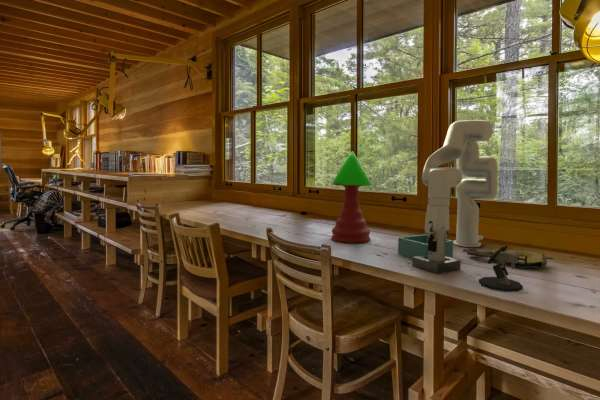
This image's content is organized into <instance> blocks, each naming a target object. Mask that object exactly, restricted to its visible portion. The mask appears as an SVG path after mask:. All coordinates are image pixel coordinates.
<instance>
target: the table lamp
mask: <svg viewBox="0 0 600 400" xmlns="http://www.w3.org/2000/svg"><path fill="white" fill-rule="evenodd" d="M331 184H332V185H333V186H342V187H343V188H344V192H343V195H344V200H343V202H342V203H343V204H342V209H341V210H340V212H339V217H338V218H337V219H336V220H335V225H334V227H333V228H331V233H332V236H331V237H330V238H331V240H332V241H334V242H339V243H348V244H359V243H366V242H370V241H371V238H370V235H371V234H370V233H371V230H370V229H369V228H368V226H367V221H366V219H365V217H363V212H362V209H361V208H360V201H359V196H360V192H359V189H360V187H361V186H362V187H363V186H366V187H367V186H371V185H372V182H371V179H369V176H368V175H367V173H366V170H365V169H364V167H363V165H362V163H361V162H360V160H359V159H358V157H357V156H356V154H355V152H354V151H353V150H352V151H351V152H350V153H349V155H348V156H347V158H346V159H345V161H344V162H343V164H342V165H341V167H340V169H339V170H338V171H337V175H336V176H335V178H334V180H333V182H332V183H331Z"/></svg>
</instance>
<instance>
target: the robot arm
mask: <svg viewBox="0 0 600 400" xmlns="http://www.w3.org/2000/svg"><path fill="white" fill-rule="evenodd" d="M492 135H493V126H492V123H491V121H489V120H485V119H484V120H483V119H471V120H470V119H467V120H456V121H454V122H453V123H451V124H450V125H449V127H448V129H447V133H446V136H445V139H444V142H443V146H442V147H440V148H438V149H437V150H436V151H435V152H433V153H432V154H431V155H429V156H428V158H427V160H426V161H425V162H424V163H425V164H424V166H423V171H422V174H421V181H422V184H423V185H425V186H426V187H428V189H427V191H428V192H427V195H428V196H427V207H426V211H425V217H424V218H425V219H424V220H425V221H424V234H425V235H427V240H428V251H432V252H436V251H437V241H436V237H437V234H438V233H440V230H441V228H442V227H443V226H444V227H445V228H446V239H448V233H449V230H450V228H451V227H450V200H451V199H450V198H451V188H456V189H455V190H456V198H457V199H456V200H457V206H456V209H457V212H456V234H455V239H454V240H452V241H453V246H454V245H455V246H457V247H463V248H479V247H481V246H482V243H481V242H480V240H483V239H484V236H483V235H479V219H480V207H479V205H478V204H477V202H476V201H475V200H480V201H481V200H484V201H492V200H494V199H496V197H497V195H498V162H497V160H496V159H495V157H493V156H488V155H486V156H485V155H484V156H483V155H482V156H480V154H479V153H480V150H479V144H478V142H487V141H489V140H490V139H491V138H492ZM456 160H458V168H457V167H443V166H442V165H444V164H448V163H450V162H453V161H456ZM463 177H466V178H463ZM483 178H484V179H483ZM432 230H433V231H434V232H431V231H432ZM431 234H434V237H433V235H431Z"/></svg>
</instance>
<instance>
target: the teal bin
mask: <svg viewBox="0 0 600 400" xmlns="http://www.w3.org/2000/svg"><path fill="white" fill-rule="evenodd" d="M453 241H454V240H452V239H448V238H446V251H445V256H446V257H450V258H454V257H453V256H454V255H453V254H454V244H453ZM397 243H398V244H397V245H398V246H397V254H399V255H402V256H405V257H409V258H411V259H413V257H416V256H422V255H428V240H427V235H426V234H425V233H424V234H419V235H418V234H416V235H410V236H401V237H398V240H397Z"/></svg>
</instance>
